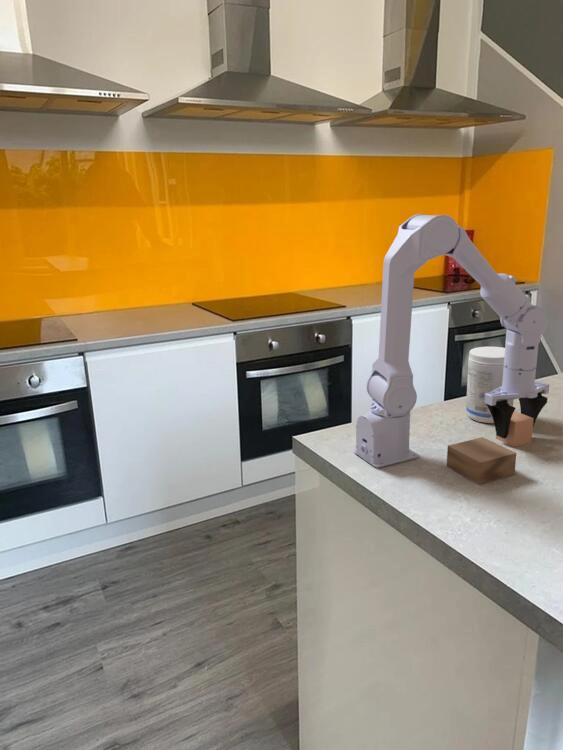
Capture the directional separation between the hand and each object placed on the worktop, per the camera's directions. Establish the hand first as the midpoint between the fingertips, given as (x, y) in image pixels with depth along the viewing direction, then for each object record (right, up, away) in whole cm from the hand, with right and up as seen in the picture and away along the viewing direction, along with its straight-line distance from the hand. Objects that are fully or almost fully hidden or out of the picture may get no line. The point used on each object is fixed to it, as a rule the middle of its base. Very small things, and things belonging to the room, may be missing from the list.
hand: (513, 433), depth 114 cm
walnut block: (-11, -5, -12) cm, 17 cm away
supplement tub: (0, +2, +13) cm, 13 cm away
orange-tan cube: (0, -1, 0) cm, 2 cm away
